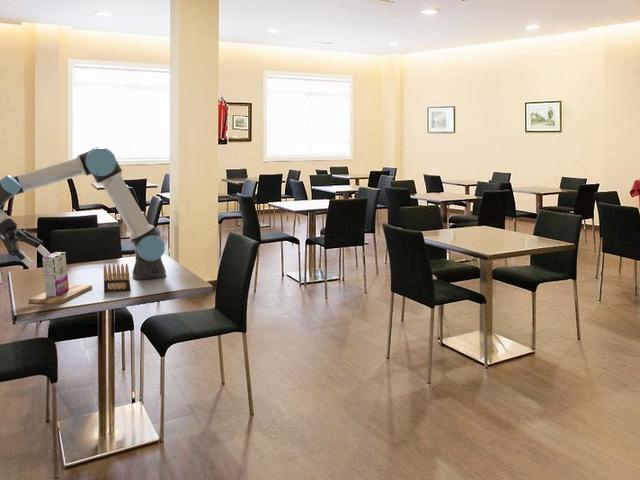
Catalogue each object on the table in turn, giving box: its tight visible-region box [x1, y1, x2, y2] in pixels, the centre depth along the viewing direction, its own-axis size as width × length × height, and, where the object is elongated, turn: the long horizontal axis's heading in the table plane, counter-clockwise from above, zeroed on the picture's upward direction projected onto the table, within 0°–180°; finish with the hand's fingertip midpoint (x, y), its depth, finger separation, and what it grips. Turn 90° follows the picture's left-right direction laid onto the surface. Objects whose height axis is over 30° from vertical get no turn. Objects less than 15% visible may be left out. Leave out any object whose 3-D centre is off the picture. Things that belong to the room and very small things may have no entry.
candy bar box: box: [41, 251, 70, 297], centre depth 248 cm, size 11×5×16 cm, turn 178°
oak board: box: [28, 284, 93, 305], centre depth 252 cm, size 14×24×2 cm, turn 173°
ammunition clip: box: [103, 263, 132, 293], centre depth 257 cm, size 11×2×12 cm, turn 100°
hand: (40, 261), depth 247 cm, fingers open, 13 cm apart
